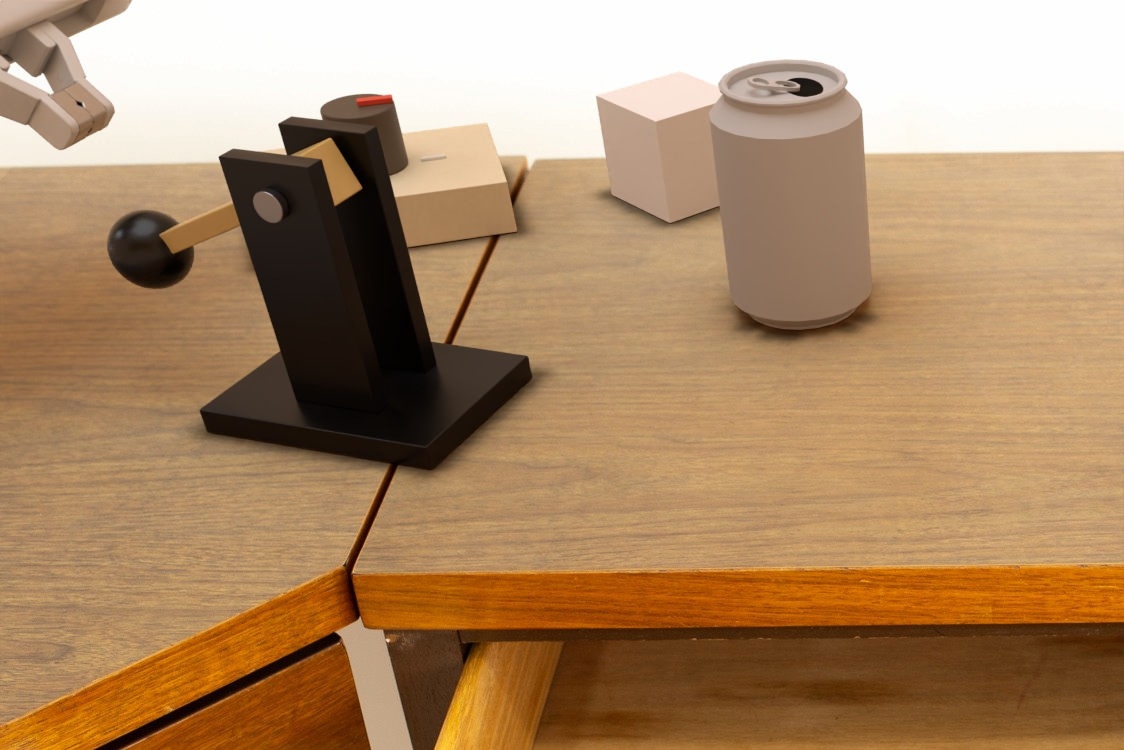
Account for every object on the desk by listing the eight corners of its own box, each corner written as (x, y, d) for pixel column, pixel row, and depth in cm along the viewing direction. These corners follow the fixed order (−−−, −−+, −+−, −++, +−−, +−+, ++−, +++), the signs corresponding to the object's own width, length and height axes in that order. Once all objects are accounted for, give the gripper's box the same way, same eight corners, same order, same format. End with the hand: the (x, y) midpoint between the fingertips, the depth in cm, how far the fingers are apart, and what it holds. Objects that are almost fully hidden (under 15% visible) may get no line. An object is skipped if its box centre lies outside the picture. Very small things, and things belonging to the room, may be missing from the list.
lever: (125, 310, 74) (74, 240, 72) (177, 278, 77) (128, 209, 75) (332, 226, 68) (281, 147, 66) (380, 194, 70) (333, 118, 69)
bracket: (206, 432, 74) (108, 164, 66) (322, 345, 80) (246, 92, 72) (432, 470, 71) (359, 196, 63) (532, 377, 78) (478, 118, 70)
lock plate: (260, 268, 87) (242, 214, 85) (258, 201, 95) (242, 150, 93) (517, 231, 91) (506, 178, 89) (497, 170, 99) (486, 119, 97)
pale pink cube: (611, 195, 95) (595, 95, 92) (692, 168, 99) (679, 70, 95) (670, 223, 92) (655, 120, 88) (751, 194, 95) (740, 94, 92)
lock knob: (337, 183, 89) (319, 116, 87) (334, 158, 92) (317, 93, 90) (411, 173, 90) (395, 107, 88) (405, 149, 93) (390, 84, 91)
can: (891, 322, 82) (880, 90, 75) (751, 347, 80) (725, 111, 73) (848, 264, 88) (834, 43, 80) (716, 287, 85) (688, 61, 78)
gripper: (-30, -119, 78) (205, 96, 82) (-411, 7, 63) (-98, 263, 67) (10, -216, 74) (254, 15, 78) (-385, -108, 59) (-55, 171, 63)
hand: (90, 131), depth 73 cm, fingers closed
